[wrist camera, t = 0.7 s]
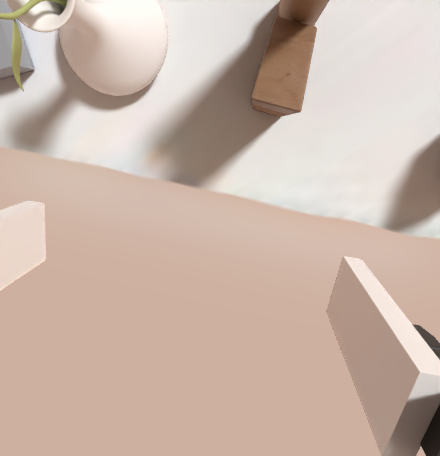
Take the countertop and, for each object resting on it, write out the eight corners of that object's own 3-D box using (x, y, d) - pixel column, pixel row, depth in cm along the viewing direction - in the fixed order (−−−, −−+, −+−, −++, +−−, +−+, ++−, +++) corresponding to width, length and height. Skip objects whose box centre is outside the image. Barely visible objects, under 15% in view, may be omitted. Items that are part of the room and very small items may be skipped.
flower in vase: (81, -42, 33) (-377, -481, 9) (186, 1, 33) (14, -314, 9) (56, 89, 37) (-297, 29, 13) (150, 126, 37) (-32, 133, 13)
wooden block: (251, 108, 35) (249, 95, 18) (281, -4, 32) (314, -149, 15) (283, 117, 35) (311, 112, 18) (317, 6, 32) (391, -129, 15)
